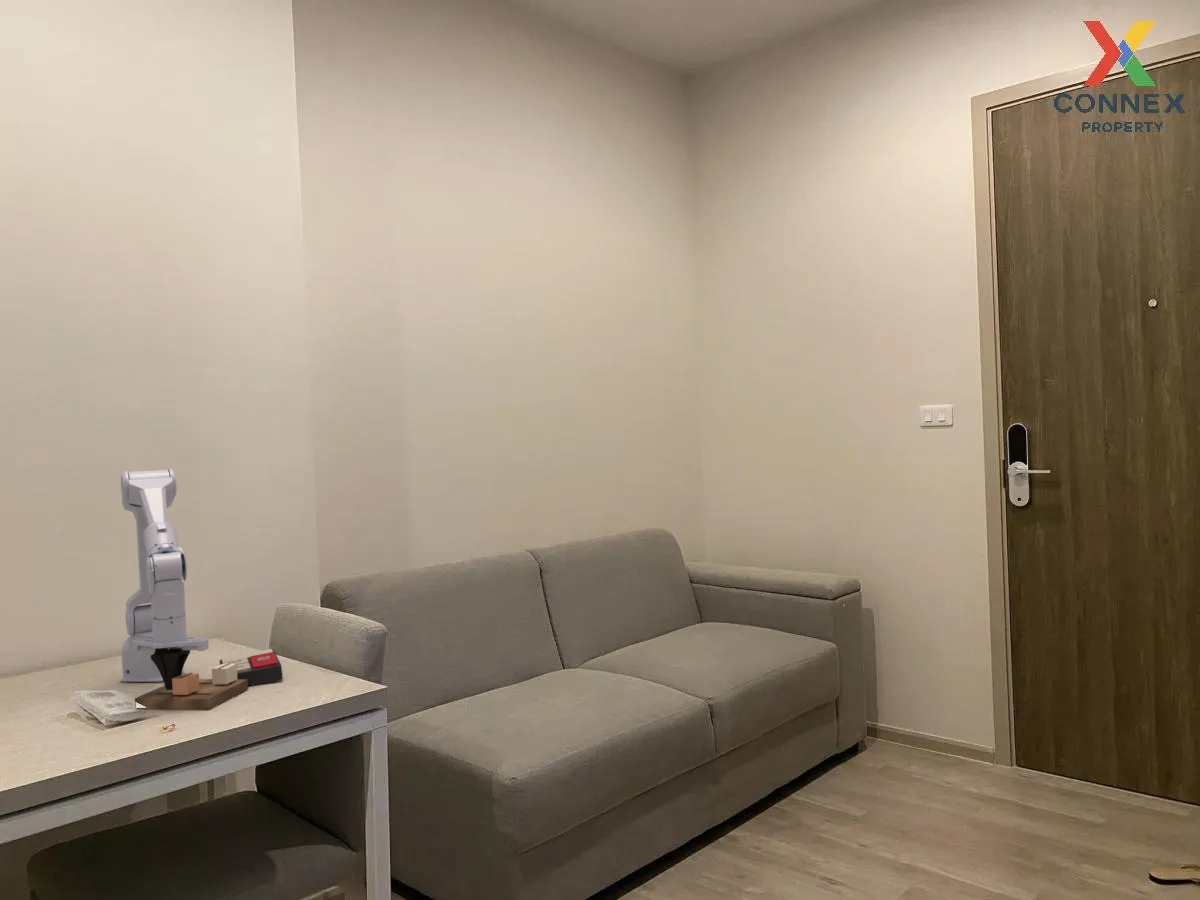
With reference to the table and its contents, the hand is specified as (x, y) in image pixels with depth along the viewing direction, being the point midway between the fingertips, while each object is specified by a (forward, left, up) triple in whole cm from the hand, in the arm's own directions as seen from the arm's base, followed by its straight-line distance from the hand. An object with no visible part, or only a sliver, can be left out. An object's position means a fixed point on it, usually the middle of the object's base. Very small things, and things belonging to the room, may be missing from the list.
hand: (172, 688), depth 169 cm
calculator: (+5, +19, -3) cm, 20 cm away
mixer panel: (+2, +3, -3) cm, 5 cm away
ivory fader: (+6, +7, -1) cm, 10 cm away
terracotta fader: (+3, 0, -1) cm, 3 cm away
